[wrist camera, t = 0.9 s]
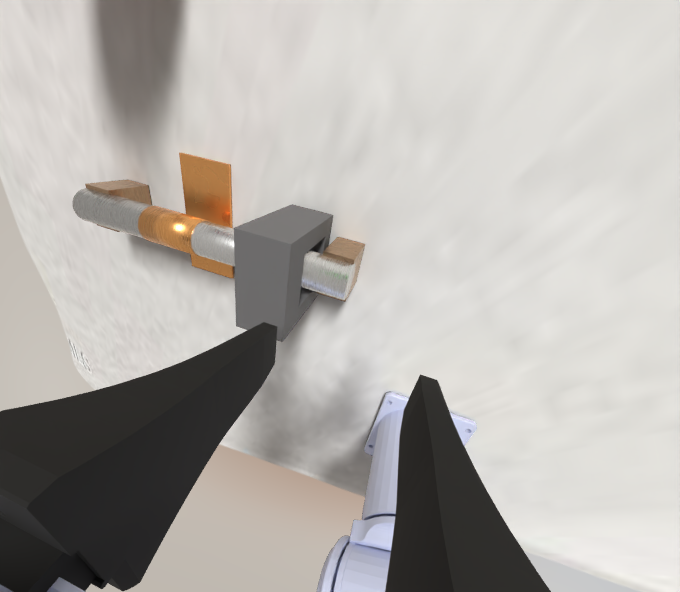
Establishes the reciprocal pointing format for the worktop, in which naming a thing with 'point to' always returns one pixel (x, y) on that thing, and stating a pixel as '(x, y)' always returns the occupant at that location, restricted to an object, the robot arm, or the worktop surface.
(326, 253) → the rail
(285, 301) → the collar
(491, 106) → the worktop surface
